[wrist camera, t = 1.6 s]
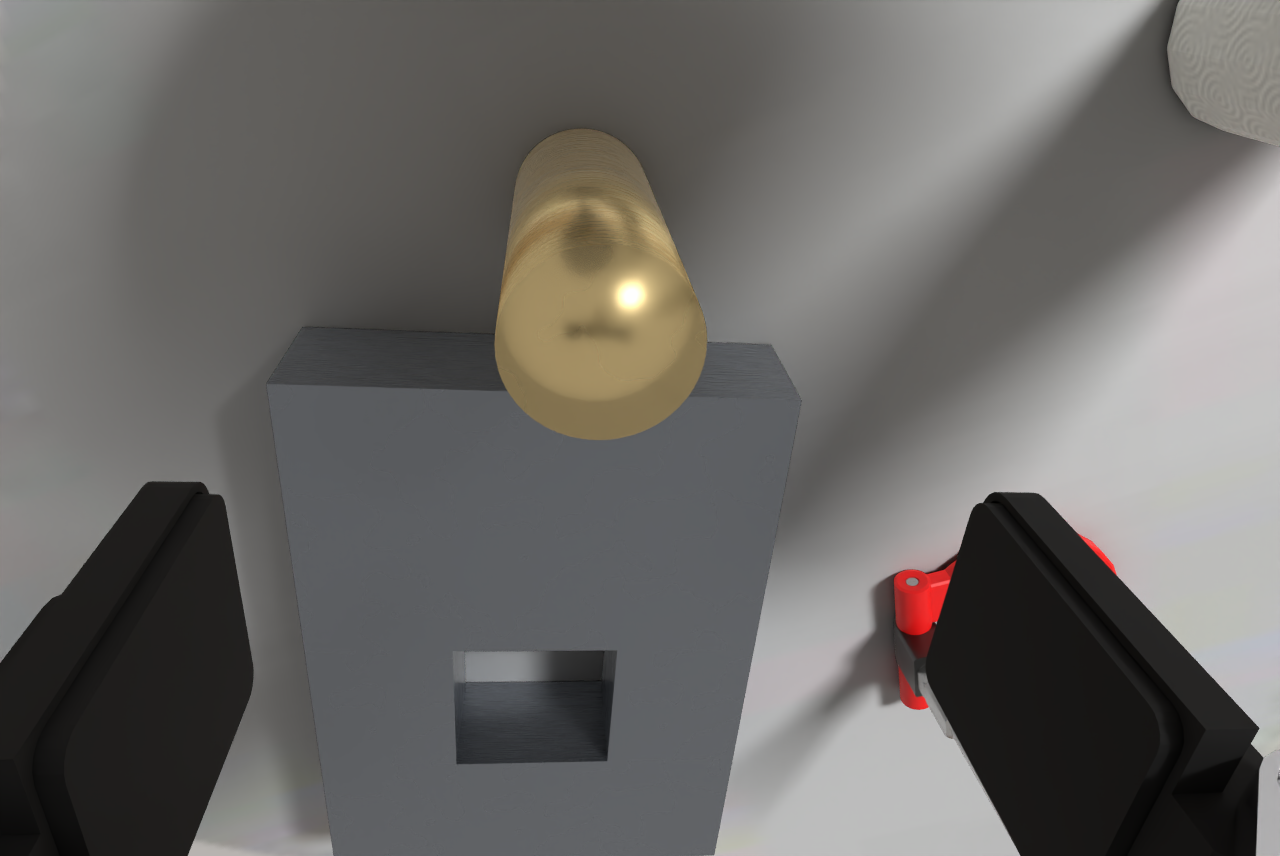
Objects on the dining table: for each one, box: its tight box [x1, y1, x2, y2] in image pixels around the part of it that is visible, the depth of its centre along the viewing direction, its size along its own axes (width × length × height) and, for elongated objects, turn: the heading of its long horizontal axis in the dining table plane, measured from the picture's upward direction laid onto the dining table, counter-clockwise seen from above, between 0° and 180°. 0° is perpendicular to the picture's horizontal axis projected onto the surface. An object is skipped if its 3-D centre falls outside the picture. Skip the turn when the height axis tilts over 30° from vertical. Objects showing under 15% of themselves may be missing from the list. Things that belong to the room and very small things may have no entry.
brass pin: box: [494, 129, 707, 440], centre depth 21 cm, size 4×4×11 cm
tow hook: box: [894, 534, 1116, 836], centre depth 30 cm, size 8×13×9 cm
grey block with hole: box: [266, 327, 802, 856], centre depth 31 cm, size 21×15×4 cm
